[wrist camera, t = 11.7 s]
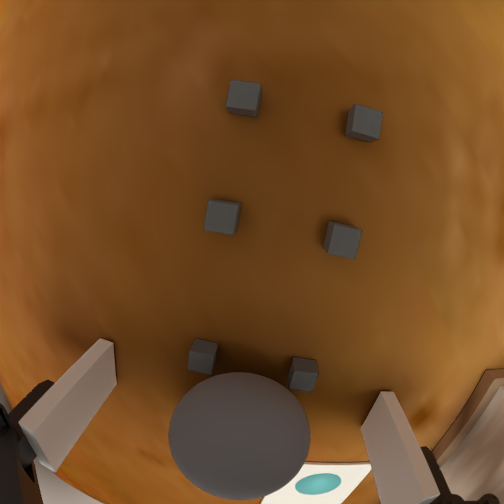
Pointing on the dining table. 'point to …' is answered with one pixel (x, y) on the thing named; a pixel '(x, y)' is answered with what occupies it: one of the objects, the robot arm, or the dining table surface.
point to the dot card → (320, 484)
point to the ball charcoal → (239, 436)
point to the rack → (476, 443)
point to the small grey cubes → (227, 215)
